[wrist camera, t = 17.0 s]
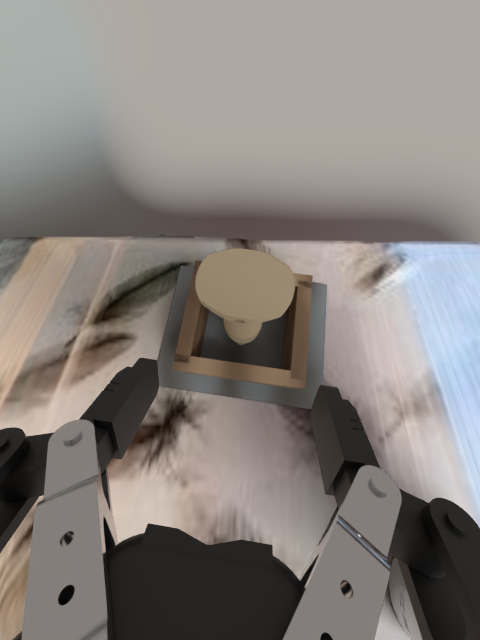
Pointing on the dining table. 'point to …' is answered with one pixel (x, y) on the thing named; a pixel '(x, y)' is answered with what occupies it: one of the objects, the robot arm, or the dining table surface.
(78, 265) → the dining table surface
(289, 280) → the handle
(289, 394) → the socket holder
